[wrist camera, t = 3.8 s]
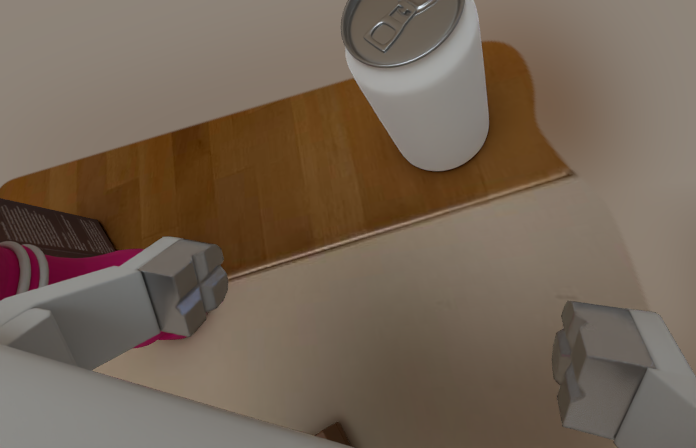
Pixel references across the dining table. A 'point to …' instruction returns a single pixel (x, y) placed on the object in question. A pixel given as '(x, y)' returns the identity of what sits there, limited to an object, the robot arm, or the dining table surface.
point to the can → (421, 75)
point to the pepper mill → (55, 271)
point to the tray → (334, 434)
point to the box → (52, 231)
